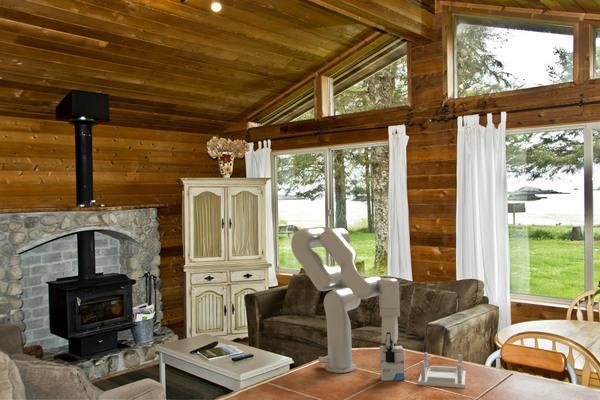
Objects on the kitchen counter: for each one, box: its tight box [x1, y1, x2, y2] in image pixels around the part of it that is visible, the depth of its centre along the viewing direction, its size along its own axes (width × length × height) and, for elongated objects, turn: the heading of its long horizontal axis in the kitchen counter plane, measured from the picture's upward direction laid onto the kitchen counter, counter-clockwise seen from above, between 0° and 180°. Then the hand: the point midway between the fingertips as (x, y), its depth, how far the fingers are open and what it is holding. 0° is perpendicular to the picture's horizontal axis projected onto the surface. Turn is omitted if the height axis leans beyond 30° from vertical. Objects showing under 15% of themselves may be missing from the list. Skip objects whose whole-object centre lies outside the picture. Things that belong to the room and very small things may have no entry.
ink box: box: [379, 345, 405, 381], centre depth 197 cm, size 8×5×12 cm, turn 84°
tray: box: [417, 352, 467, 389], centre depth 195 cm, size 16×16×8 cm
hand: (391, 359), depth 198 cm, fingers closed on ink box, 5 cm apart
